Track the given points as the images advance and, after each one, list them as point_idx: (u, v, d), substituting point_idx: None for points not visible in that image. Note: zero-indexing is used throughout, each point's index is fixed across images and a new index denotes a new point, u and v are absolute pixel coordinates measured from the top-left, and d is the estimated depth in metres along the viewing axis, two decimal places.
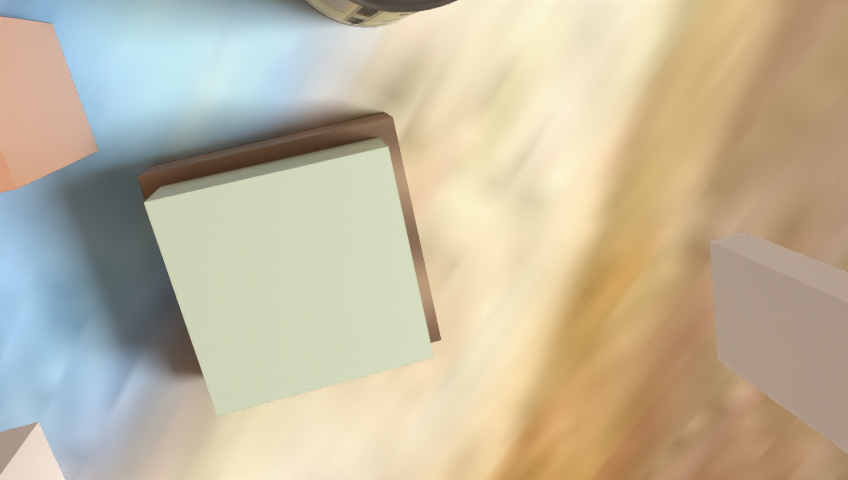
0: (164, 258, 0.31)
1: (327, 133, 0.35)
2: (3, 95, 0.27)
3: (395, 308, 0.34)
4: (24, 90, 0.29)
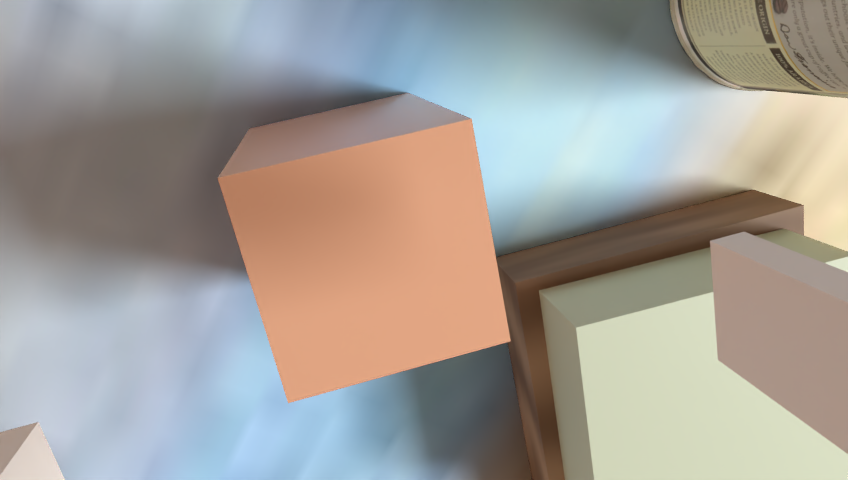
0: (585, 392, 0.25)
1: (729, 225, 0.29)
2: None
3: (819, 441, 0.28)
4: None
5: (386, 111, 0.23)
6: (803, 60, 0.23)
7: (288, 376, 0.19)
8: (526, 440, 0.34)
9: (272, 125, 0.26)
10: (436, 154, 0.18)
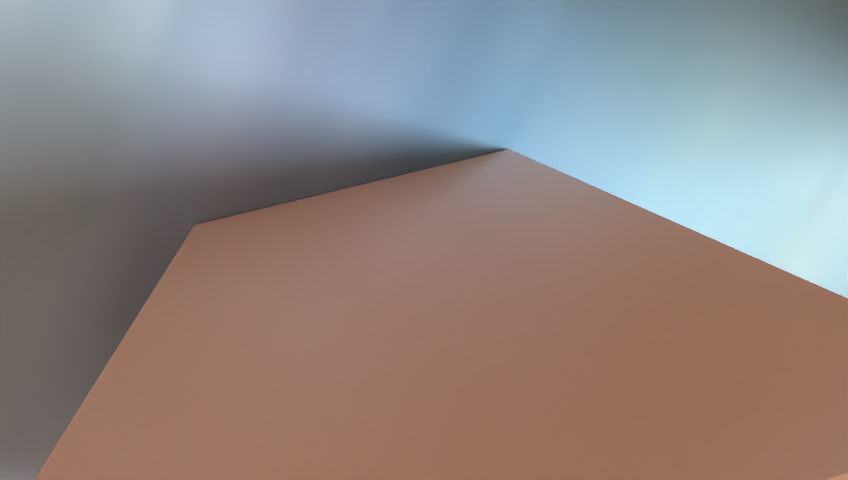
0: None
1: None
2: None
3: None
4: None
5: (508, 220, 0.09)
6: None
7: None
8: None
9: (239, 223, 0.13)
10: None
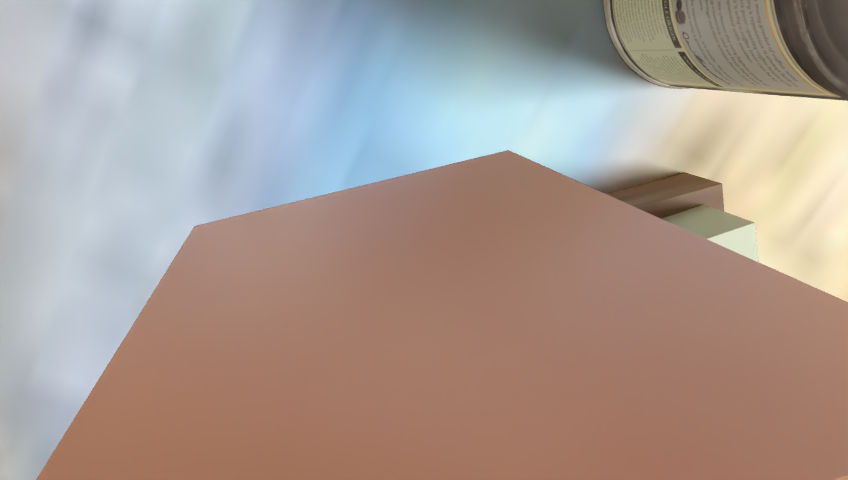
0: None
1: (658, 202, 0.34)
2: None
3: None
4: None
5: (508, 222, 0.09)
6: (702, 61, 0.28)
7: None
8: None
9: (239, 225, 0.13)
10: None
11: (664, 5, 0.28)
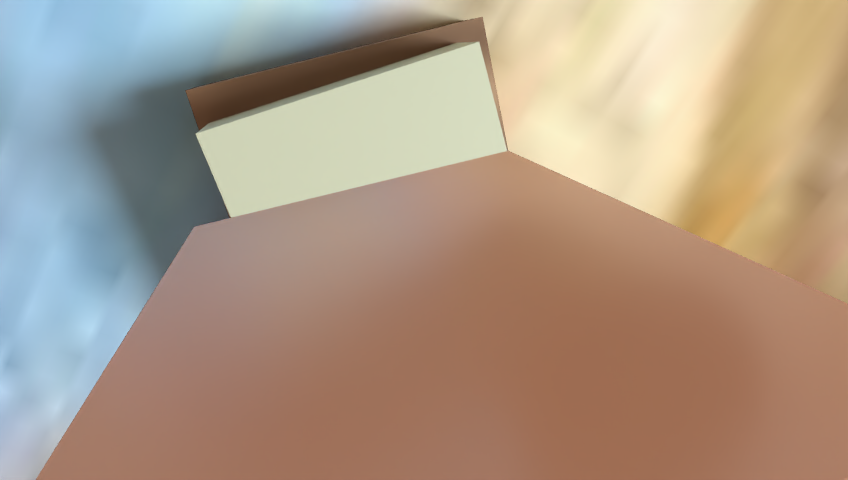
0: (225, 200, 0.26)
1: (406, 37, 0.29)
2: None
3: None
4: None
5: (508, 223, 0.09)
6: None
7: None
8: None
9: (239, 225, 0.13)
10: None
11: None
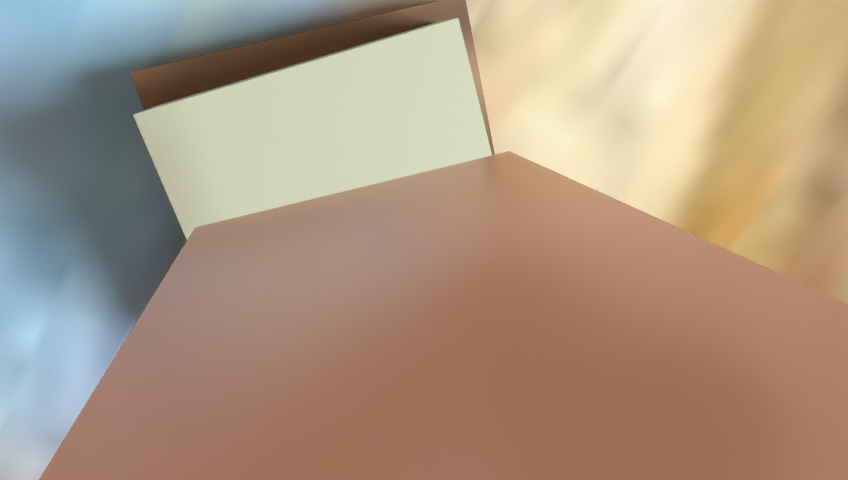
0: (168, 192, 0.23)
1: (379, 15, 0.27)
2: None
3: None
4: None
5: (509, 224, 0.09)
6: None
7: None
8: None
9: (240, 226, 0.13)
10: None
11: None
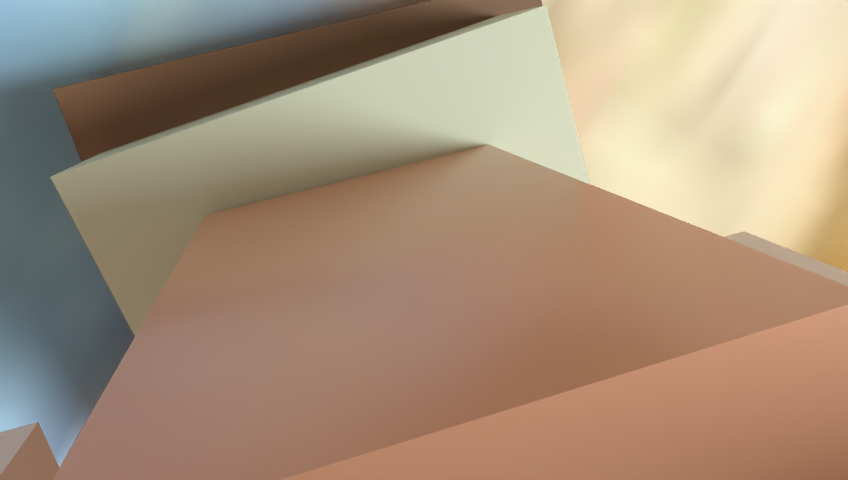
0: (113, 289, 0.15)
1: (416, 5, 0.18)
2: None
3: None
4: None
5: (484, 200, 0.11)
6: None
7: None
8: None
9: (246, 212, 0.14)
10: (757, 412, 0.05)
11: None
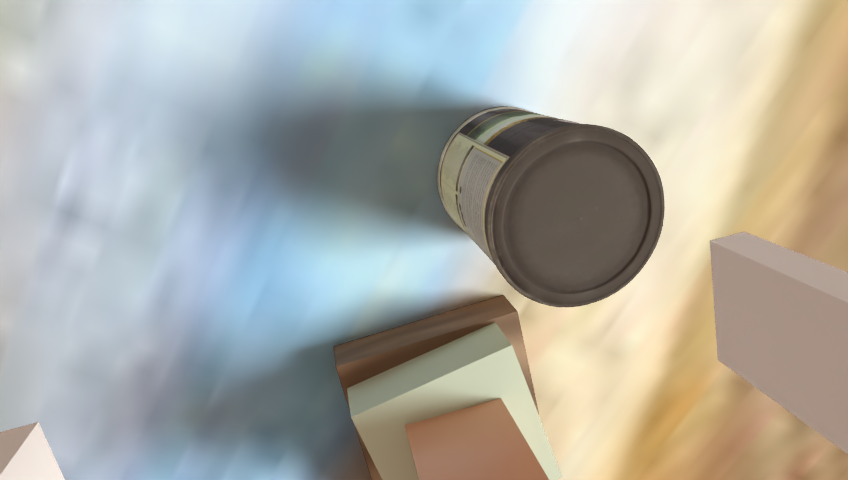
0: (368, 450, 0.44)
1: (470, 326, 0.47)
2: None
3: None
4: None
5: (499, 443, 0.40)
6: None
7: None
8: None
9: (421, 428, 0.43)
10: None
11: (457, 210, 0.42)
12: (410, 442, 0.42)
